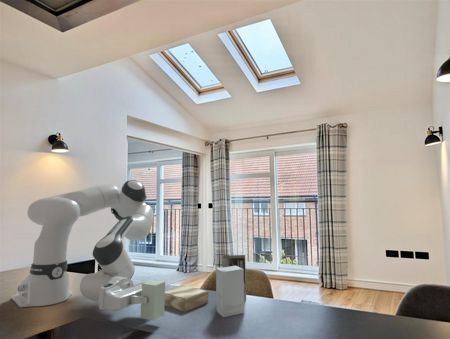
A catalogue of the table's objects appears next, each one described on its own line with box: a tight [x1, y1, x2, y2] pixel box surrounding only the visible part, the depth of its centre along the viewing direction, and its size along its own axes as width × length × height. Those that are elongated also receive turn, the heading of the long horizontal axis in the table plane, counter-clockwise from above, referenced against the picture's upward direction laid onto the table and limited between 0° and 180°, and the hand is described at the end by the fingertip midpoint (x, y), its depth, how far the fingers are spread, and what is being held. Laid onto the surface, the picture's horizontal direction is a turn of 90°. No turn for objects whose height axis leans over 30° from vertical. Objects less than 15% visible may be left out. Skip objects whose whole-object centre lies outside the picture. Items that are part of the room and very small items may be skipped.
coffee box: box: [221, 254, 247, 302], centre depth 116 cm, size 9×6×16 cm
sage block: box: [140, 279, 166, 322], centre depth 91 cm, size 5×5×10 cm
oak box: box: [164, 284, 209, 313], centre depth 110 cm, size 14×12×4 cm
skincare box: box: [215, 266, 245, 318], centre depth 100 cm, size 8×6×15 cm
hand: (154, 297), depth 91 cm, fingers closed on sage block, 5 cm apart
